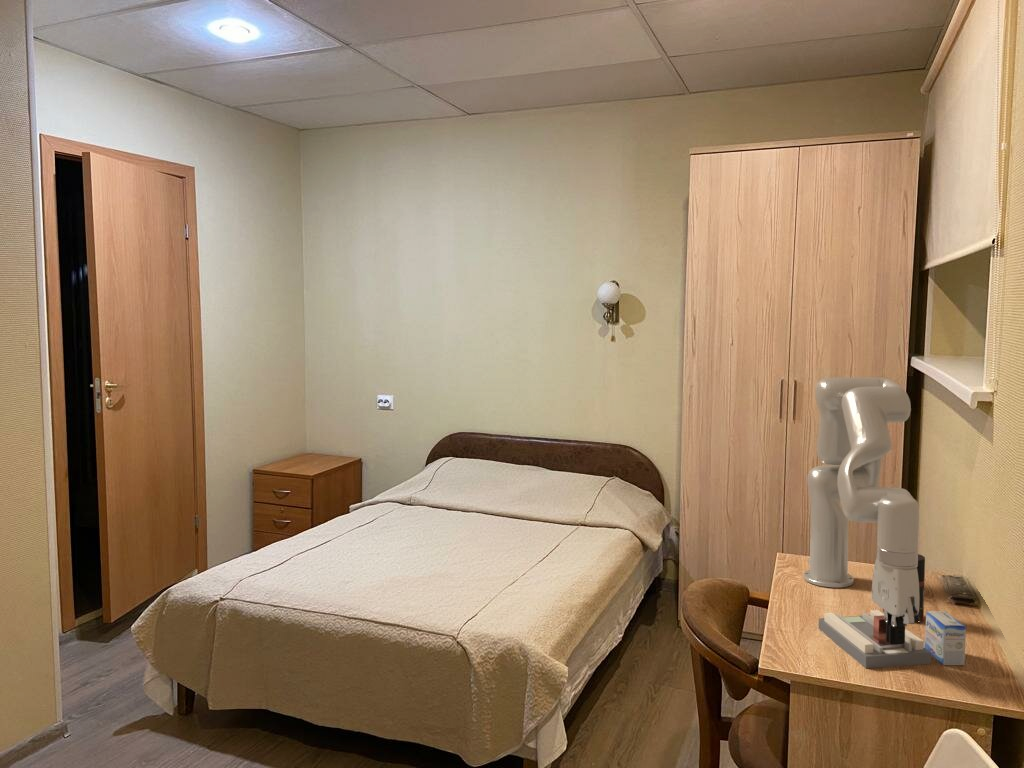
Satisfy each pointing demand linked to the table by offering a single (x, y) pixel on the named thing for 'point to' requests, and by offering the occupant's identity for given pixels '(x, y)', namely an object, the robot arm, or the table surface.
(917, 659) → the breaker panel
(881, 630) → the lever
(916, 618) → the deodorant
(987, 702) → the table surface
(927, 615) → the medicine box
